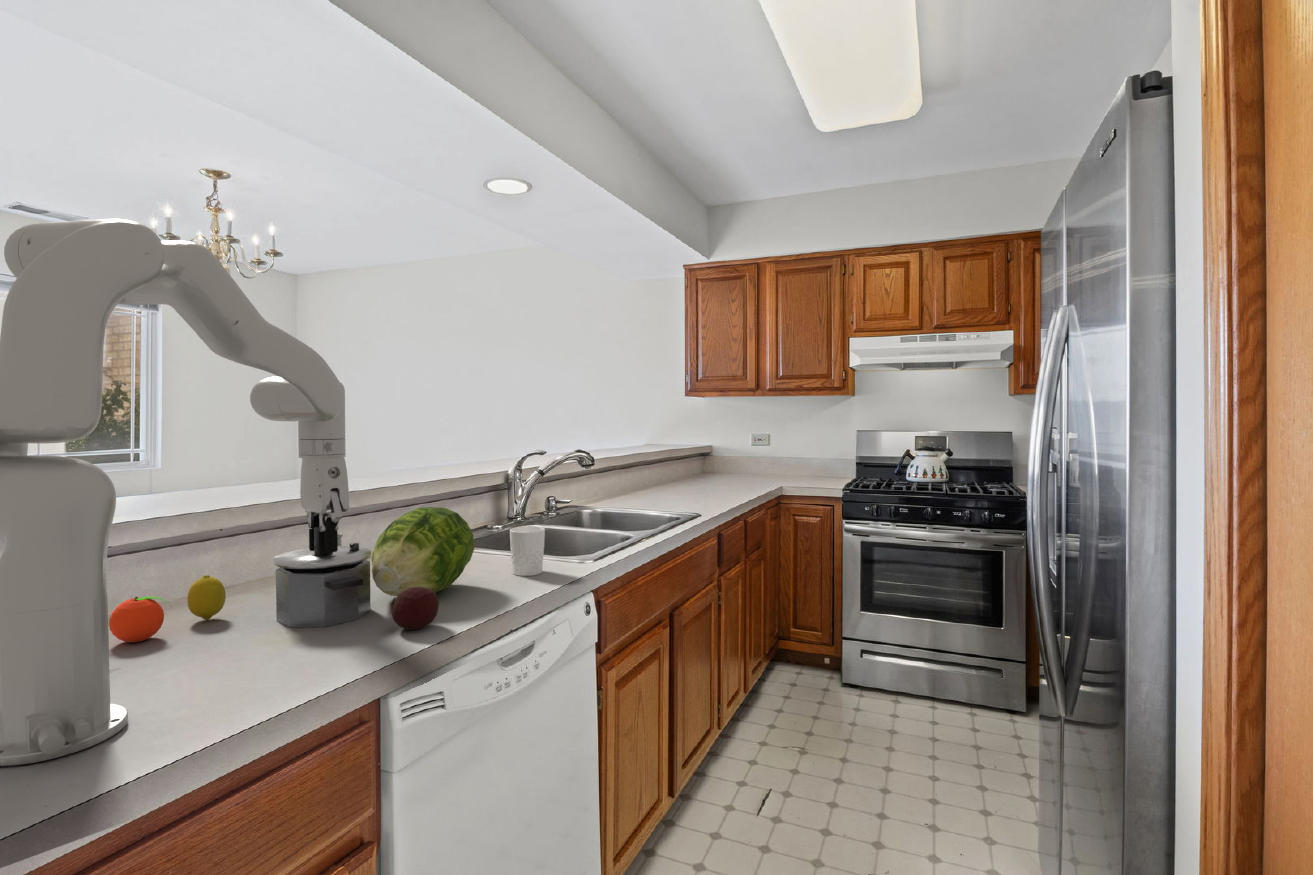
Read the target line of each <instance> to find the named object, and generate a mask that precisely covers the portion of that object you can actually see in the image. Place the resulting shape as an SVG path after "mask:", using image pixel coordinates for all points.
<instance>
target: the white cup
mask: <svg viewBox="0 0 1313 875" xmlns="http://www.w3.org/2000/svg"><path fill="white" fill-rule="evenodd" d="M545 532H546V529H545V528H544V527H541V526H527V525H526V526H517V527H513V528H510V529H509V540H510V541H509V544H510V546H509V547H510V559H511V570H512V572H511V573H512V574H513V575H515V576H518V577H530V576H537V575H540V574H542V573H543V564H544V563H543V562H544V556H545V555H544V553H545V552H544V551H545V537H546V534H545Z"/></svg>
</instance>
